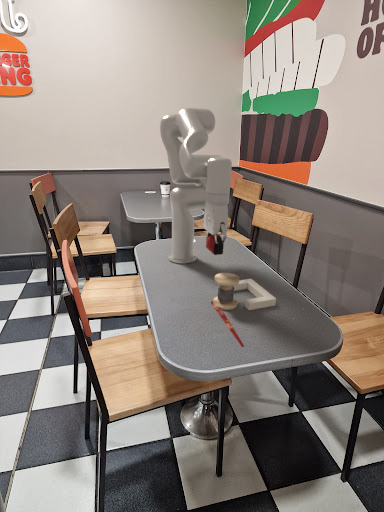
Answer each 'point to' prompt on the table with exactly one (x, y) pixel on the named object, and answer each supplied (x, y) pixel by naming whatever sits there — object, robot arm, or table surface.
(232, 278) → the spool
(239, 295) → the table surface
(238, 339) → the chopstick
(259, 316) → the table surface
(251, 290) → the notch board
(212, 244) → the onion
